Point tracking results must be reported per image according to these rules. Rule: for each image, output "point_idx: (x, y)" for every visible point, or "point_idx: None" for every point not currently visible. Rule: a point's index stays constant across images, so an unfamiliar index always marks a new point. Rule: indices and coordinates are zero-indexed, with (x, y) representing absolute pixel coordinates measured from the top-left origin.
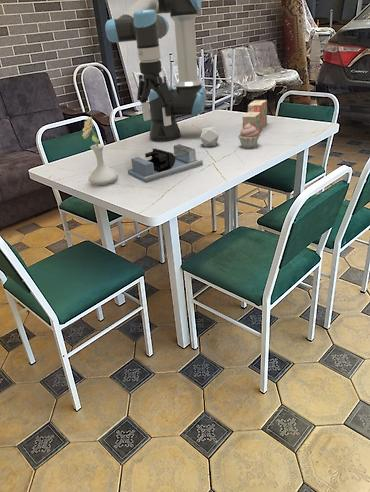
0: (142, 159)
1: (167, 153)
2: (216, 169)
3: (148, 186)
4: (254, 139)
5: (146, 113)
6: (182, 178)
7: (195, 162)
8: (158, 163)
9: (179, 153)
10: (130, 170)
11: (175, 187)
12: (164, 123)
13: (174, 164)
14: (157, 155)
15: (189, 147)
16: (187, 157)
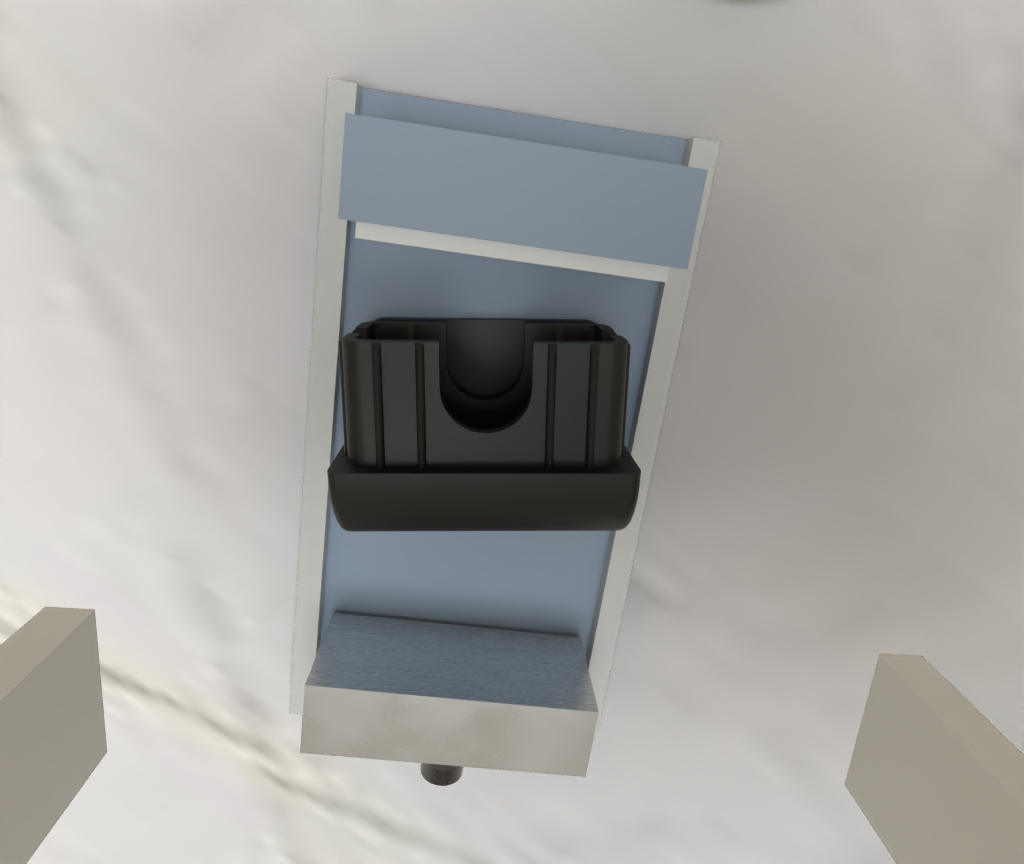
0: (550, 231)
1: (348, 469)
2: (125, 678)
3: (244, 44)
4: None
5: (961, 832)
6: (168, 383)
7: (294, 647)
8: (511, 408)
9: (492, 664)
10: (685, 158)
11: (20, 193)
12: (35, 640)
13: (454, 534)
14: (415, 370)
15: (404, 761)
16: (356, 645)
